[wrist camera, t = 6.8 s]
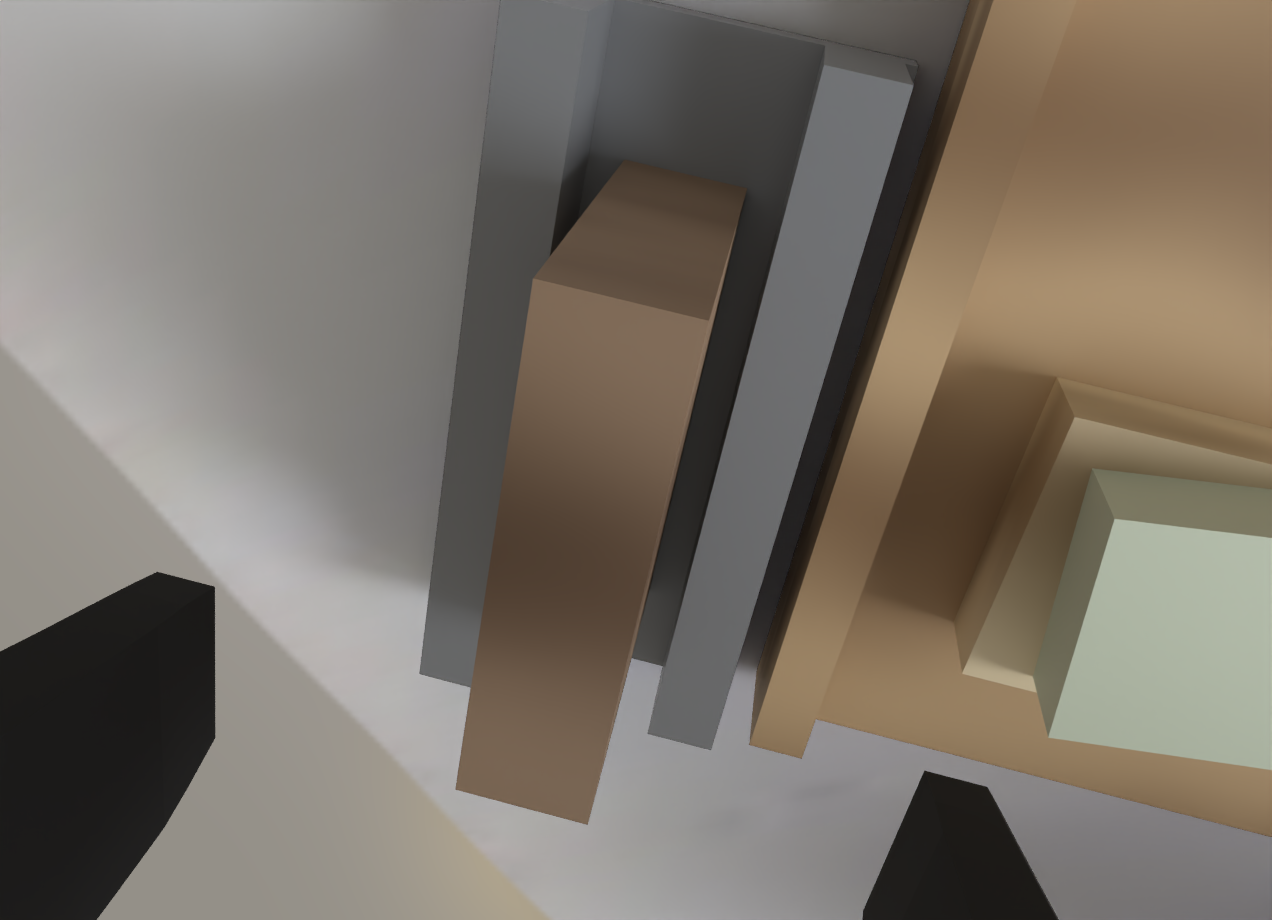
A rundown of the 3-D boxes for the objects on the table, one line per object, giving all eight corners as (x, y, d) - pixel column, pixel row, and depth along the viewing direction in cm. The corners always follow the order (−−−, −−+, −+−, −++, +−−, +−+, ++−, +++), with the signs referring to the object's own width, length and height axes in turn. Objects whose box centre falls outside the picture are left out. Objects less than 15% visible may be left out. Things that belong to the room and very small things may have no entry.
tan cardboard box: (648, 591, 21) (587, 824, 16) (549, 565, 21) (455, 789, 16) (747, 188, 17) (708, 320, 12) (624, 159, 17) (533, 278, 12)
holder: (732, 664, 22) (721, 753, 20) (451, 592, 23) (409, 671, 20) (916, 60, 16) (928, 88, 14) (533, -26, 17) (486, -13, 14)
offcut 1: (1338, 718, 19) (1375, 778, 18) (953, 621, 20) (961, 674, 18) (1499, 483, 17) (1554, 533, 16) (1056, 376, 17) (1074, 417, 16)
